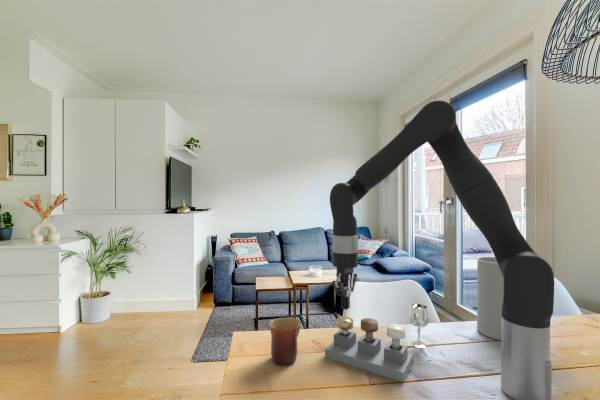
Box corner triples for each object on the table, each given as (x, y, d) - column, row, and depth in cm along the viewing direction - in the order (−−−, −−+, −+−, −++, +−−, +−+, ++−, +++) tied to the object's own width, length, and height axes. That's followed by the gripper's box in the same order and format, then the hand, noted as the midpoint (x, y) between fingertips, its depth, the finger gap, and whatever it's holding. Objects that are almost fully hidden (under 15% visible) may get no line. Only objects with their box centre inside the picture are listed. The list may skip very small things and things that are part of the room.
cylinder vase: (468, 329, 107) (469, 258, 107) (492, 324, 112) (493, 255, 112) (504, 345, 96) (505, 265, 95) (529, 338, 100) (530, 262, 100)
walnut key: (380, 341, 88) (380, 320, 88) (374, 348, 84) (374, 326, 84) (364, 337, 90) (364, 317, 90) (358, 343, 86) (358, 322, 86)
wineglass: (430, 349, 92) (430, 310, 92) (410, 348, 94) (410, 308, 93) (426, 341, 98) (426, 303, 98) (407, 339, 99) (408, 302, 99)
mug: (288, 372, 80) (288, 333, 80) (262, 362, 85) (262, 325, 85) (310, 352, 90) (310, 317, 90) (286, 345, 95) (286, 312, 95)
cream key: (407, 348, 84) (407, 326, 84) (402, 356, 79) (402, 333, 79) (389, 343, 86) (389, 322, 86) (384, 351, 82) (384, 328, 82)
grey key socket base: (414, 360, 86) (414, 341, 86) (403, 382, 76) (403, 360, 76) (342, 341, 98) (342, 324, 98) (324, 357, 88) (325, 338, 88)
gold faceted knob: (355, 338, 92) (355, 318, 92) (349, 345, 88) (349, 324, 88) (341, 334, 94) (341, 315, 94) (334, 340, 90) (334, 320, 90)
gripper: (347, 254, 83) (348, 318, 83) (365, 248, 94) (365, 304, 94) (323, 252, 87) (323, 313, 87) (342, 246, 98) (343, 300, 98)
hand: (345, 308), depth 91 cm, fingers closed
